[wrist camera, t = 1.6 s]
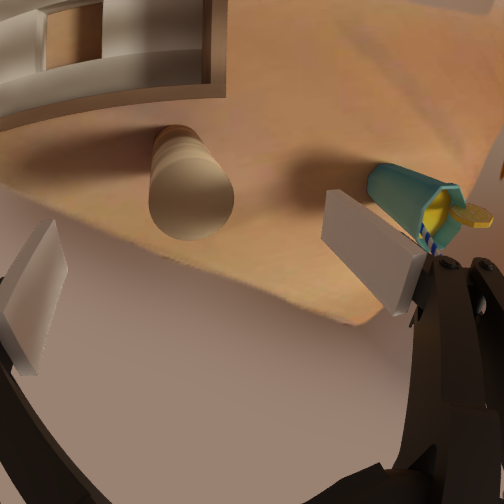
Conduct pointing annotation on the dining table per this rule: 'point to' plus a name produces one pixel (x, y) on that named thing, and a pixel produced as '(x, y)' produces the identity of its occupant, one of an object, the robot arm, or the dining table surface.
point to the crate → (112, 58)
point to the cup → (424, 205)
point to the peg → (187, 186)
